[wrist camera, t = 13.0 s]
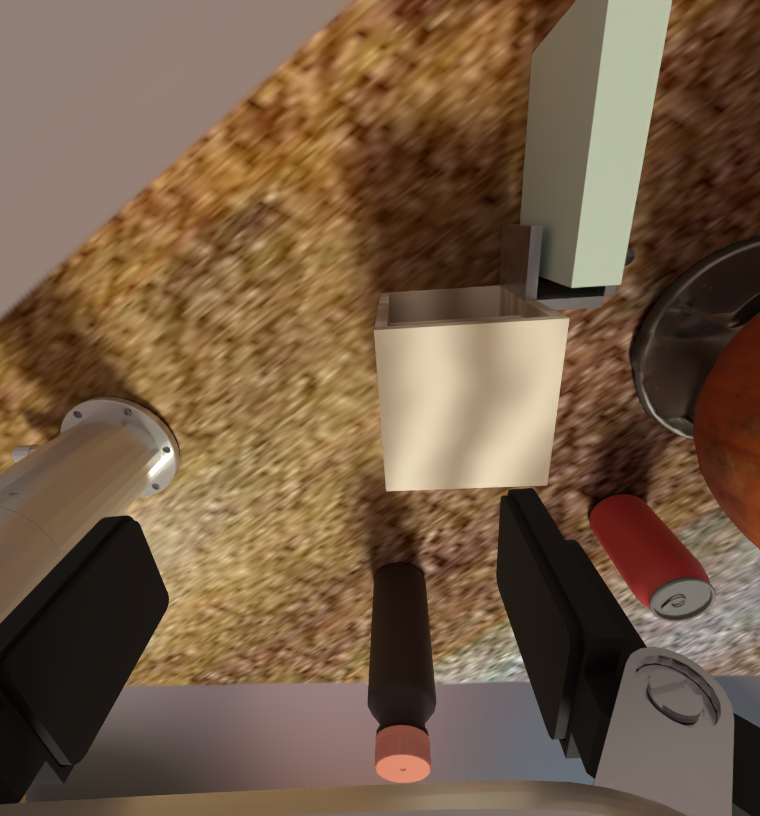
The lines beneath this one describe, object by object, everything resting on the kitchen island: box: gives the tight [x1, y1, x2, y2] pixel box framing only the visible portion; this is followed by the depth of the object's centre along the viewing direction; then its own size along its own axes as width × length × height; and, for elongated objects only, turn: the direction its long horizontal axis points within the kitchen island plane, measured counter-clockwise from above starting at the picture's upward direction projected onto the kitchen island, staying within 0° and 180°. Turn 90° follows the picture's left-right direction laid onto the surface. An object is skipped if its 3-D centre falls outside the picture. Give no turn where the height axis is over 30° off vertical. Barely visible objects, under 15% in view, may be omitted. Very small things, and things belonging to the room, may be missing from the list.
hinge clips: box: [499, 224, 634, 310], centre depth 31 cm, size 8×6×8 cm
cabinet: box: [374, 285, 569, 491], centre depth 33 cm, size 12×12×14 cm
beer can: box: [589, 494, 715, 622], centre depth 41 cm, size 7×7×12 cm
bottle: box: [368, 563, 436, 783], centre depth 43 cm, size 7×7×20 cm
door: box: [520, 0, 672, 288], centre depth 27 cm, size 15×4×12 cm, turn 4°
